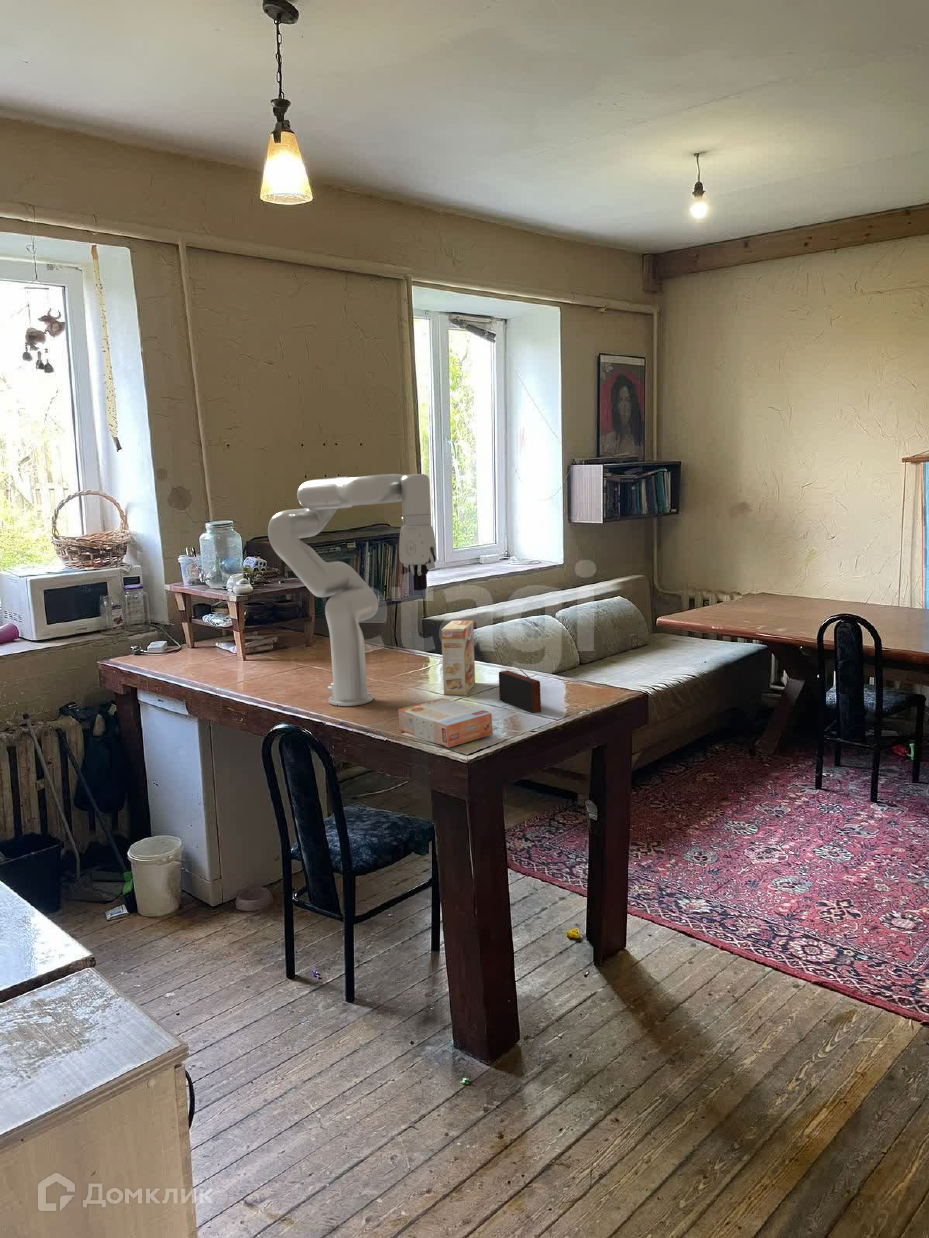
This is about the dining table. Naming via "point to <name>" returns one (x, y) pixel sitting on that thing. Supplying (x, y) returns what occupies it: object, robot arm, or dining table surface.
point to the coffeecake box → (458, 657)
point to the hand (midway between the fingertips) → (420, 589)
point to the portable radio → (519, 690)
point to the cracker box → (445, 722)
